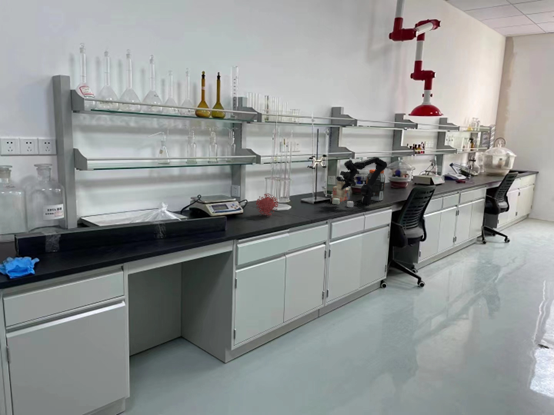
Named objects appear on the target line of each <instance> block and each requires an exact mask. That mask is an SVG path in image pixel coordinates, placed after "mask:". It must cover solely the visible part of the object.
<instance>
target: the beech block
mask: <svg viewBox="0 0 554 415" xmlns="http://www.w3.org/2000/svg"><path fill="white" fill-rule="evenodd" d="M344 184H345V182H338V181H337V182H336V186H337V193H336V197H339V198H344V195H345V189H343V190H341V188H342V187H343V185H344Z"/></svg>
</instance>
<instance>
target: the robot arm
mask: <svg viewBox="0 0 554 415" xmlns="http://www.w3.org/2000/svg"><path fill="white" fill-rule="evenodd" d="M373 164H374V165H375V171H374V173H373V174H372V176H371V178H370V179H369V181H368V183H367V184H366V183H365V184H364V183H363V184H362V186H361V188H360V193H361V194H360V195H361V196H362V199H361V204H363V205H372V200H371V197H373V193H372V186H373V184H374V183H375V181H376V179H377V178H378V176H379V174H380V173H381V172H382V171H383V170H384V171H385V170H386V168H387V167H388V163H387V161H384V160H383V159H382V158H379V157H377V156H373V157H371V158H368V159H365V160H361V161H355V162H353V160H352V159H349V160H347V161H345V162H344V164H343V165H344V167H345V169H346V170H347V171H344V170H340V172H339V175H340V176H338V175H337V176H336V177H335V179H336V181H337V182H345V184H344V185H343V187H342V188H341V190H343V189H345V188H350V187H355V186H356V185H357V182H356V181H355V176H356V175H360V171H359V170H361V171H362V170H363V169H365V168H366V167H367V166H369V165H373Z"/></svg>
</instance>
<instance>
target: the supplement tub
mask: <svg viewBox="0 0 554 415" xmlns="http://www.w3.org/2000/svg"><path fill="white" fill-rule="evenodd" d="M375 169H376V168H375ZM375 169H374V168H373V169H369V171H368V172H369V173H368V174H367V175H366V183H365V184H367V183H368V181H369V179H370V178H371V176H372V174H373V173H374V171H375ZM385 186H386V176H385V170H383V171H382V172H381V173H380V174H379V176H378V178H377V179H376V181H375V183H374V184H373V186H372V193H373V197H371V201H379V202H380V201H382V200H384V194H385Z"/></svg>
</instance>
